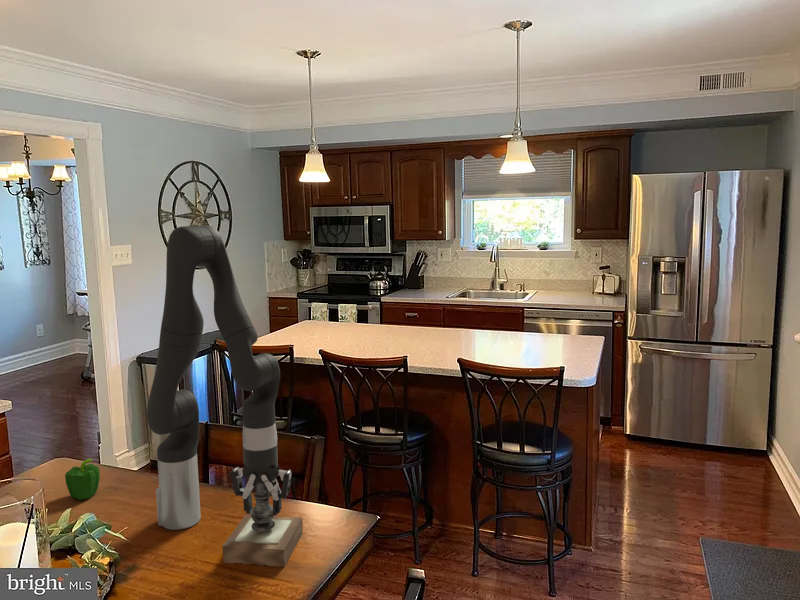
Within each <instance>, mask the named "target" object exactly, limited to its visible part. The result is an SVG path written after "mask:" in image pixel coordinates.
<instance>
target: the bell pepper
mask: <svg viewBox="0 0 800 600" xmlns="http://www.w3.org/2000/svg"><path fill="white" fill-rule="evenodd" d="M92 462H93V459H92V458H88V459H86V460H84V461H83V462H81V465H80V466H73V467H72V468H71V469H69V470H68V471H66V472H65V475H64V477H65V478H64V479H65V486H66V488H67V490H68V493H69V495H70V497H71V498H72V499H76V500H79V501H83V500H88V499H91V498H92V497H93V496H94V495H95V494H96V493H97V492H98V490H99V485H100V478H101V470H100V467H99V466H98V465H94V464H93V463H92Z"/></svg>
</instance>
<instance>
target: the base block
mask: <svg viewBox="0 0 800 600" xmlns="http://www.w3.org/2000/svg"><path fill="white" fill-rule="evenodd" d="M272 520H273V521H274V522H275V526H274V527H273V528H272V529H270V530H267V531H255V530H253V529H252V524H253V523H254V521H253V519H252V517H251V515H250V514H245V515H244V517H243V518H242V520H240V522H238V523H239V524H238V525H237V526H236V528H235V529H234V530H233V531H232V533H231V534H230V535H229V537H228V538H227V539H226V540H225V542H224V543H223V545H222V560H223V561H222V563H223V564H234V563H238V564H237V565H240V564H239V563H242V564H241V565H249V564H257V565H256V566H264V565H267V566H266V567H278V568H279V567H280V568H285V567H286V565H287V563H288V562H289V560H290V558H291V556H292V554H293V552H294V551H295V548H296V547H297V545H298V543H299V541H300V539H301V537H302V535H303V531H304V530H303V517H295V516H293V517H292V516H291V517H290V516H278V515H277V516H275V515H274V517H273V519H272Z"/></svg>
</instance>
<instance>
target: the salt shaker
mask: <svg viewBox="0 0 800 600" xmlns="http://www.w3.org/2000/svg"><path fill="white" fill-rule="evenodd" d="M254 489H255V494H254V495H253V497H254V498H255V505H254V506H253V507H252V509H251V510H250V514H249V515H251V517H252V519H253V521H254V523H253V524H252V529H253V530H255V531H267V530H270V529H272V528H273V527H274V526H275V522H274V521H273V520H272V519H273V517H274V516H275V515H273V504H272V505H271V504H270V496H271V493H270V492H269V491H268V489H267V488H266V487H265V486H264V485H263V484H262V483H258V484H256V487H254Z"/></svg>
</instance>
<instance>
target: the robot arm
mask: <svg viewBox="0 0 800 600" xmlns="http://www.w3.org/2000/svg"><path fill="white" fill-rule="evenodd" d="M227 251H228V250H227V249H226V245H225V242H224V240H223V238H222V235H221V234H220V232H219V231H218V230H217V229H216V228H215V227H214V226H211V225H208V224H207V225H205V224H203V225H199V224H198V225H186V226H185V225H183V226H179V227H176V228H174V229H173V230H172V231H171V233H170V235H169V237H168V241H167V245H166V273H165V274H166V275H165V281H166V282H165V293H164V294H165V295H164V304H163V312H162V313H163V314H162V319H161V324H160V333H159V343H158V351H157V352H158V353H157V358H156V365H155V369H154V370H155V371H154V377H153V380H152V385H151V389H150V393H149V397H148V401H147V406H146V420H147V424H148V425H147V426H149V429H150V431H152V433H154V434H156V435H161V436H162V435H166V434H168V436H167V437H165V439H164V440H162V442H161V443H159V445H158V447H157V449H156V456H157V457H156V458H157V473H158V487H157V488H156V489H155V496H156V511H157V524H158V526H161V527H163V528H165V529H166V530H170V531H172V530H174V531H175V530H184V529H188V528H190V527H192V526H195V525H196V524H198V523H199V522H200V521H201V518H202V517H201V516H202V515H201V500H200V498H201V497H200V483H199V465H198V446H199V442H200V409H199V403H198V400H197V398H196V397H195V395H194V393H192V391H190V390H188V389H178V388H179V384H180V383H181V380H182V378H183V377H184V376H185V373H186V372H187V371H188V369H189V368H190V366H191V365H192V364H193V362H194V360H195V358H196V357H197V355H198V353H199V351H200V349H201V344H202V339H203V332H204V331H203V330H204V324H205V323H204V317H203V313H202V311H201V309H200V306H199V304H198V302H197V300H196V298H195V294H194V287H193V286H194V278H195V271H196V268H197V267H204V268H205V269H206V271H207V273H208V274H209V276H210V278H211V279H210V280H211V282H212V285H213V286H212V287H213V317H214V319H215V323H216V325H217V328H218V330H219V333H220V334H221V337H222V339H223V341H224V342H225V345H226V347H227V353H228V359H229V365H230V369H231V375H232V378H233V380H234V382H235V384H237V386H238V387H239V388H240V389H242V390H244V391H246V392H251V393H250V395H249V396H248V397H247V398H246V399H245V400H244V401H243V404H242V425H243V426H242V449H243V450H242V451H243V452H242V454H243V456H242V457H243V467H239V466H235V467H234V468H233V469H232V470H231V471H230V477H231V483H232V488H233V491H234V495H235V496H236V497H237V496H240V497H242V501H243V511H244V512H245V515H250V510H251V509H252V508H253V495H252V492H253V489H254V488H255V487H256V484H258V483H262V484H263V485H264V486H265V487H266V488H267V489H268V492H269V493H270V495H271V496H272V499H273V500H272V506H273V515H274V516H277V517H278V516H279V513H280V512H281V510H282V508H283V507H282V505H283V504H282V499H286V498H287V497H288V495H289V493H290V491H291V490H290V489H291V482H292V477H293V476H292V475H293V474H292V473H293V470H291V469H287V470H285V469H281V467H280V466H279V464H278V462H279V461H278V460H279V458H278V457H279V456H278V441H279V440H278V432H277V426H276V408H275V407H276V406H275V405H276V404H275V403H276V400H277V397H278V391H279V386H280V379H281V369H280V364H279V362H278V360H277V358H276V357H275V356H274V355H273V354H270V353H267V352H266V353H259V354H256V355H254V354H253V350H252V346H253V345H254V344H256V342H257V341H258V340H259V338H258V333H257V331H256V329H255V326H254V324H253V322H252V320H251V318H250V316H249V314H248V311H247V310H246V308H245V305H244V304H243V301H242V298H241V295H240V292H239V290H238V289H239V288H238V285H237V282H236V279H235V275H234V273H233V267H232V265H231V261H230V257H229V254H228V252H227ZM243 476H244V477H245V478H246V480H247V483H246V485H245V487H244V483H243V479H242V477H243ZM278 476H280V481H282V485H281V488H280V486H279V485H280V484H279V482H278V480H277V477H278Z"/></svg>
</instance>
